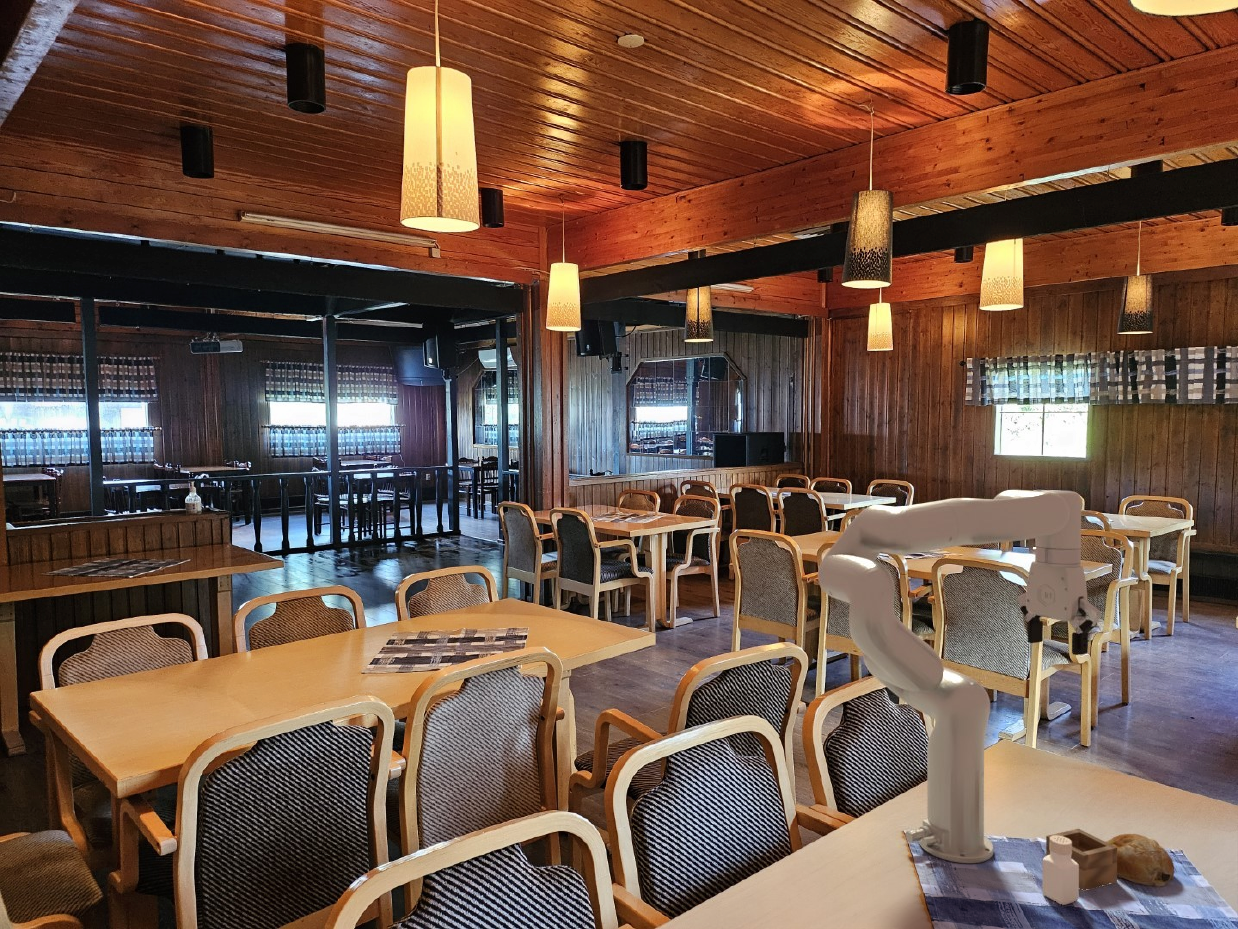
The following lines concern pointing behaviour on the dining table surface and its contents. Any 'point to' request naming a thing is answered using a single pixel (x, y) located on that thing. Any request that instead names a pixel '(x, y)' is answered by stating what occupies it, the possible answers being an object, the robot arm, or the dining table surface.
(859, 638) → the robot arm
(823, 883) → the dining table surface
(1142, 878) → the bread roll
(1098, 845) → the wooden open box
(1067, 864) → the pepper shaker
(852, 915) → the dining table surface
